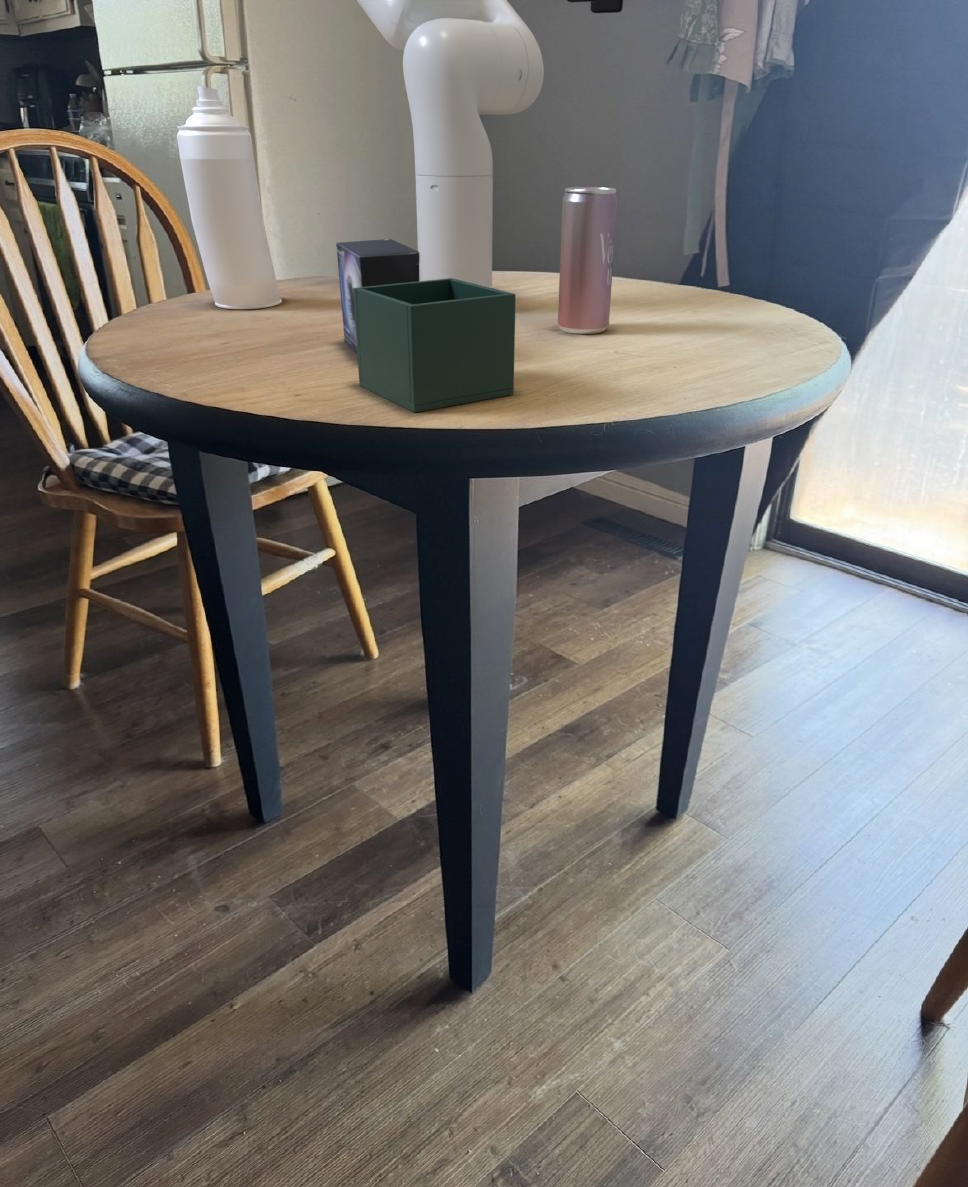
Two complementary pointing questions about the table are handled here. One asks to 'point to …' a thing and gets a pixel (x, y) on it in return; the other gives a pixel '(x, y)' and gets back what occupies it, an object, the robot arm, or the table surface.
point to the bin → (435, 342)
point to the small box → (371, 273)
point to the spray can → (226, 206)
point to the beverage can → (586, 259)
